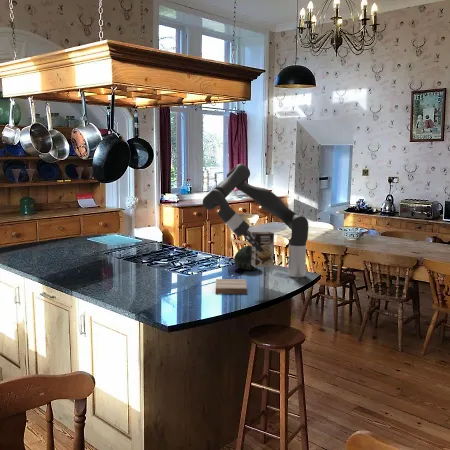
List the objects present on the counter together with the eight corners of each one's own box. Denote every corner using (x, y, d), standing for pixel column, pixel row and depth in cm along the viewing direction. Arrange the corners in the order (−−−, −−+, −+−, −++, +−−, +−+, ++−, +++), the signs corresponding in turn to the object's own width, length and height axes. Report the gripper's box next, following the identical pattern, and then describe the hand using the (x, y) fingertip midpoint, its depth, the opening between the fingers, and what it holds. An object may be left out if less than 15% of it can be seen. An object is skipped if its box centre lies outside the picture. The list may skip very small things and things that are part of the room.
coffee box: (255, 267, 237) (256, 233, 235) (250, 264, 244) (251, 231, 241) (273, 266, 240) (274, 233, 238) (268, 263, 246) (269, 231, 244)
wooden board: (216, 283, 259) (216, 279, 258) (245, 284, 259) (245, 279, 258) (215, 293, 242) (215, 288, 241) (247, 293, 242) (247, 288, 241)
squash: (240, 255, 302) (236, 239, 291) (265, 258, 297) (261, 242, 286) (234, 274, 293) (229, 259, 282) (259, 278, 288) (255, 262, 277)
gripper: (231, 227, 246) (255, 251, 248) (231, 232, 232) (256, 257, 234) (242, 217, 245) (266, 241, 247) (243, 221, 231) (268, 246, 233)
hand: (261, 249), depth 240 cm, fingers closed on coffee box, 7 cm apart
